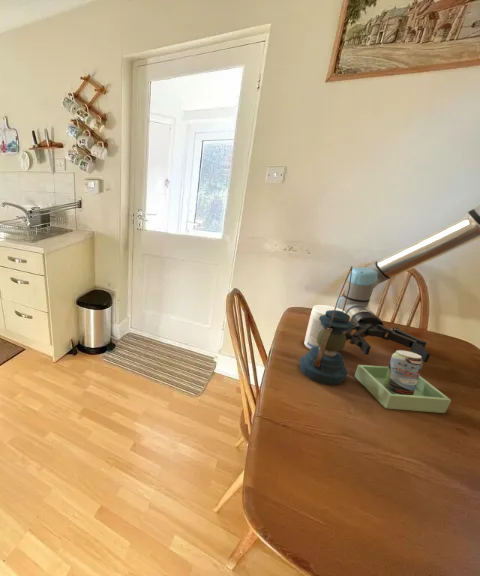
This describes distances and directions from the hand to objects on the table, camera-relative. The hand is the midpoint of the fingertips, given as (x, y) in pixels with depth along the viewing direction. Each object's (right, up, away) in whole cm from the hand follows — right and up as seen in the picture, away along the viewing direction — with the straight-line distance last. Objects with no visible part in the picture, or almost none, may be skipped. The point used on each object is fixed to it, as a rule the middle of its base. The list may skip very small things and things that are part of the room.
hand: (396, 354), depth 89 cm
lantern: (-16, -8, +8) cm, 20 cm away
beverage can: (-2, -10, -2) cm, 10 cm away
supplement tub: (-7, -2, +21) cm, 22 cm away
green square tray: (-2, -11, -1) cm, 11 cm away
